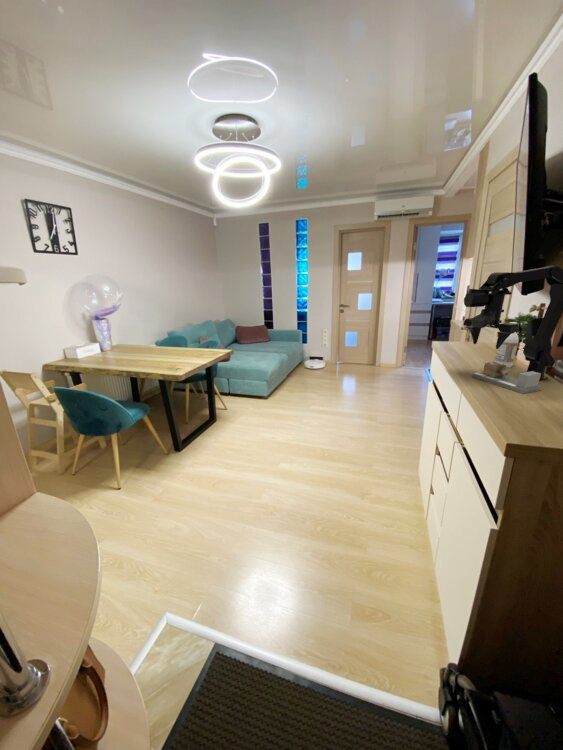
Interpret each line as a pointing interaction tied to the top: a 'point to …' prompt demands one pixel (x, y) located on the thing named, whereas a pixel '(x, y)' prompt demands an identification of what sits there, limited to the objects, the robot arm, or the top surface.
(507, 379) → the gauge rail
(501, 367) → the gauge carriage
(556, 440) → the top surface
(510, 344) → the bath foam
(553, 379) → the top surface
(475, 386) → the top surface
